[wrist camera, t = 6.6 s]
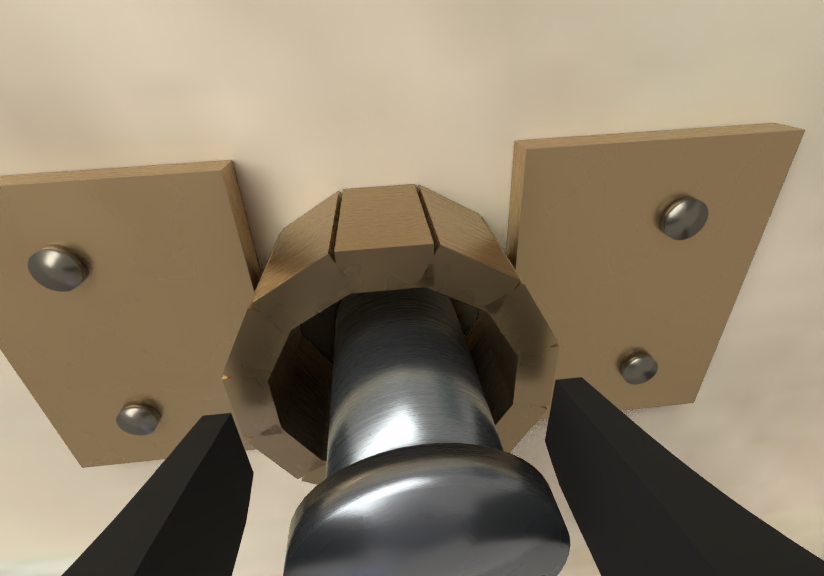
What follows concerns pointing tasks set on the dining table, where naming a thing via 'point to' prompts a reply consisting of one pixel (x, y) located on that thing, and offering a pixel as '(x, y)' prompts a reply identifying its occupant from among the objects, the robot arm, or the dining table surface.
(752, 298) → the dining table surface
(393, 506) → the pin
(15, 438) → the dining table surface
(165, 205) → the hinge leaves
